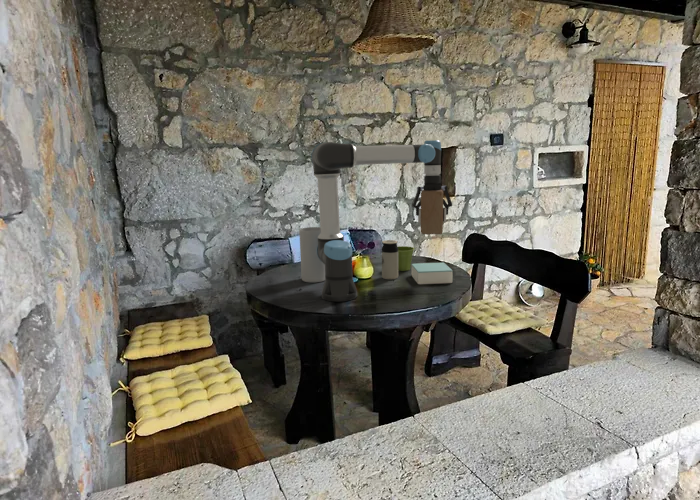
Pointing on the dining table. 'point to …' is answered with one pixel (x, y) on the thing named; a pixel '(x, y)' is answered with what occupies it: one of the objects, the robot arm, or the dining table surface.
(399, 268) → the plant pot
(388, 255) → the travel mug
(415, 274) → the base brick
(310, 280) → the cylinder vase
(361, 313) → the dining table surface
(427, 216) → the wooden block
